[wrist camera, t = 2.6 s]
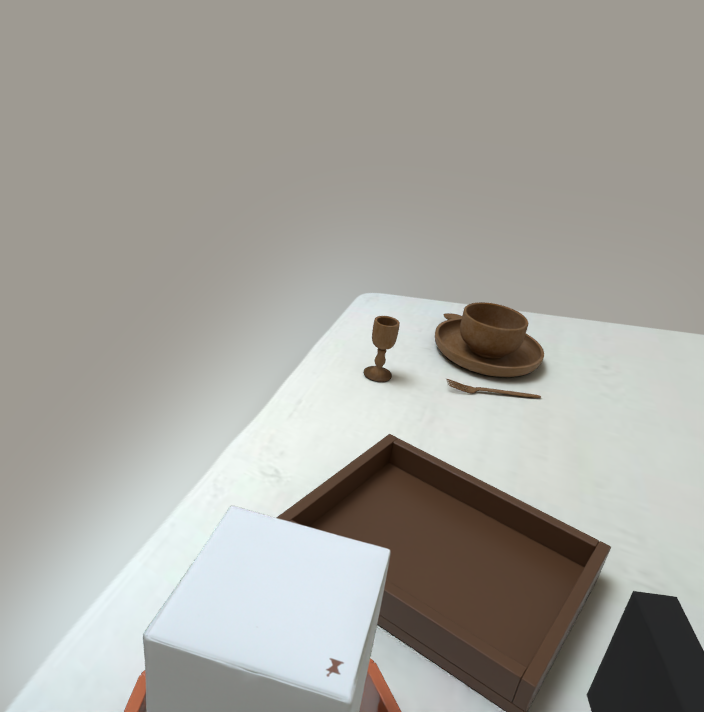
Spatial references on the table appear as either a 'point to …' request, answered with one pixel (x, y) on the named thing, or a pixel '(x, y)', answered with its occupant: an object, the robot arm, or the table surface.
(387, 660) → the table surface
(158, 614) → the white packaging box
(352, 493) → the tray
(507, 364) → the place setting
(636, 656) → the robot arm
